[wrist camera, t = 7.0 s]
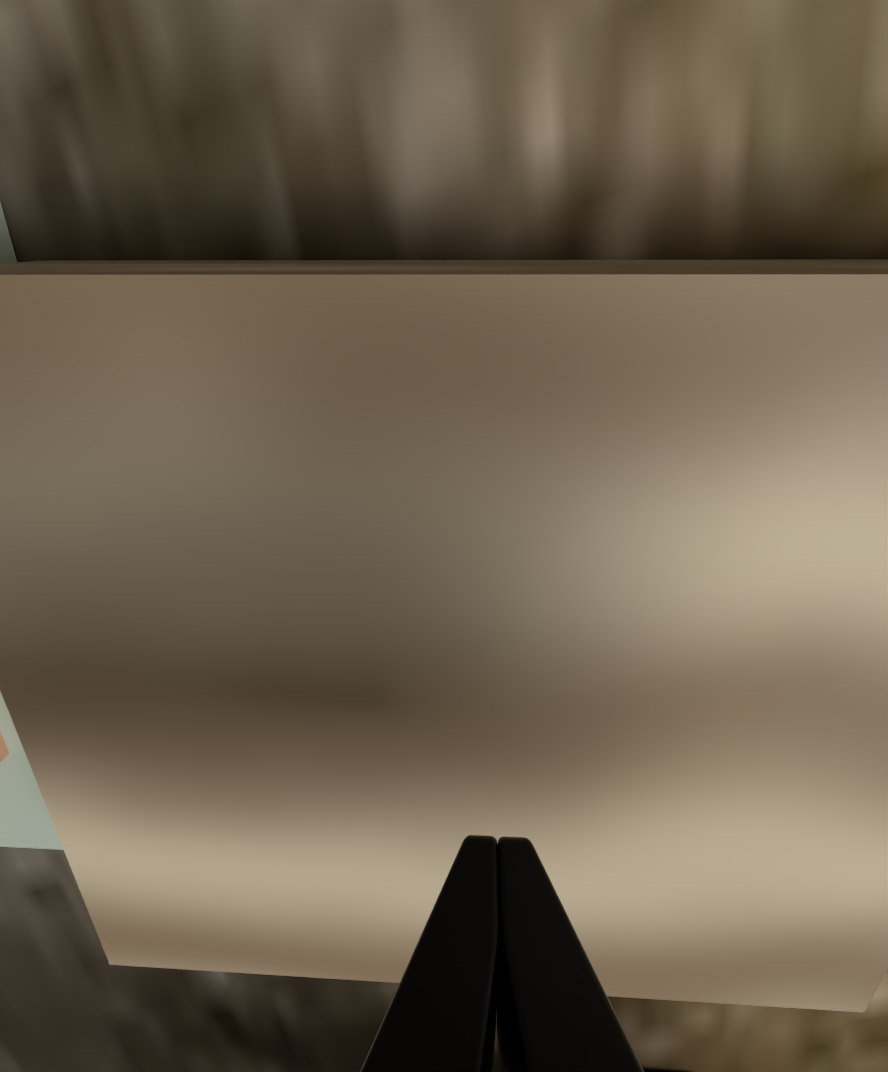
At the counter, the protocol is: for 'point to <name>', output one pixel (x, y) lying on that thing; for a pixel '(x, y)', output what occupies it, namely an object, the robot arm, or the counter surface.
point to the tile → (3, 749)
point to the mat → (10, 786)
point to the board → (457, 606)
